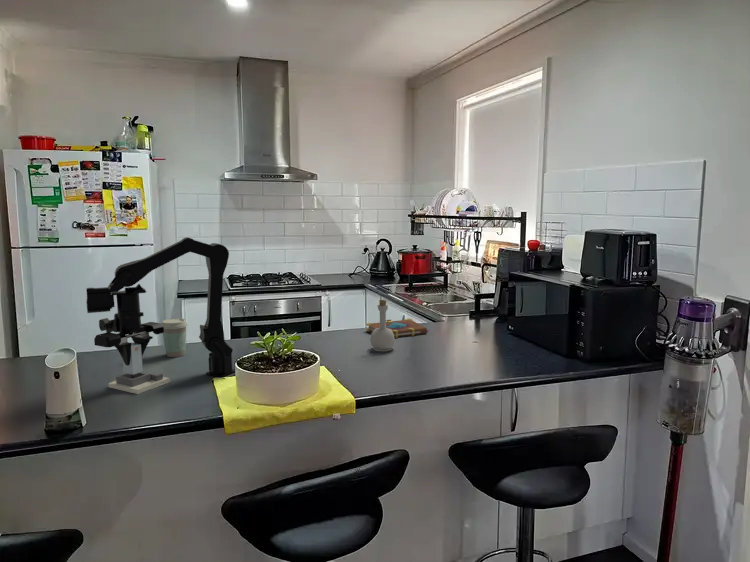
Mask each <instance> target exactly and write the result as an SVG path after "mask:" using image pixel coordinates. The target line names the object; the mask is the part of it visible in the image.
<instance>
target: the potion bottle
mask: <svg viewBox="0 0 750 562" xmlns="http://www.w3.org/2000/svg"><path fill="white" fill-rule="evenodd" d="M378 301H379V302H378V303H379V304H377V310H378V311H379V323H380V328H377V329H375V330H374V331H373V332H372V333H371V334H370V339H369V341H370V345H371V347H373V348H372V349H373V350H374V351H375V352H376V351H377V352H381V353H382V352H390V351H392V350H393V347H394V345H395V340H396V339H395V337H394V334H393V332H392V330H391V329H388V328H386V322H387V321H386V320H387V311H388V309H389V305H388V304H387V300H385V299H379V300H378Z"/></svg>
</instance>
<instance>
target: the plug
mask: <svg viewBox="0 0 750 562" xmlns="http://www.w3.org/2000/svg"><path fill="white" fill-rule="evenodd" d="M130 343H131V354H130V364H129V365H125V363H124V361H123V360H122V369H123V371H122V372H123V374H125V373H128V374H132V375H134V374H137V373H140V372H144V371H143V370H144V369H143V367H144V366H143V356H142V353H141V344H137V343H134V342H130Z"/></svg>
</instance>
